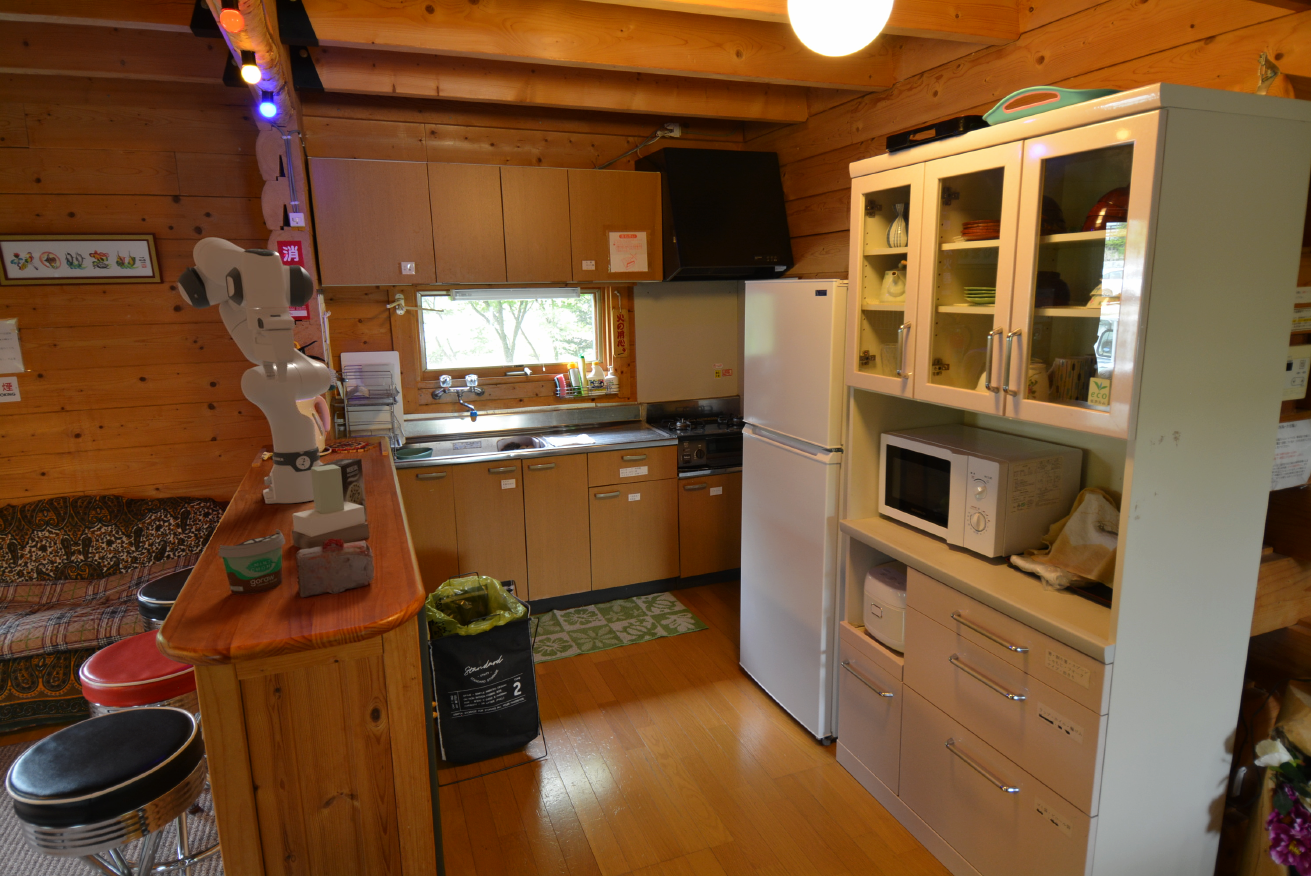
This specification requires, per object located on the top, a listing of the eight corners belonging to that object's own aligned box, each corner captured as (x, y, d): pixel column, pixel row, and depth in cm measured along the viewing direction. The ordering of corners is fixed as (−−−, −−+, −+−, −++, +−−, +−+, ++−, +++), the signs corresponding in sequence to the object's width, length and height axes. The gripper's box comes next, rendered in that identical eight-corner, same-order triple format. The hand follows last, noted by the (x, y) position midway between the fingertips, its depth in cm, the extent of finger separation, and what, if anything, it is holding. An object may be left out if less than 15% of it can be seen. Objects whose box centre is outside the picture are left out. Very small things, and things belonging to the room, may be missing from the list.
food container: (241, 601, 139) (234, 550, 138) (223, 595, 143) (216, 545, 141) (302, 580, 150) (297, 532, 148) (284, 575, 153) (278, 528, 151)
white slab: (294, 530, 172) (292, 513, 171) (347, 517, 181) (346, 501, 181) (311, 536, 167) (309, 519, 166) (365, 522, 176) (363, 506, 176)
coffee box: (347, 530, 183) (340, 465, 180) (323, 529, 184) (316, 465, 181) (368, 519, 191) (362, 458, 189) (346, 518, 193) (339, 457, 190)
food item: (371, 575, 152) (366, 528, 150) (377, 587, 145) (372, 539, 143) (297, 588, 146) (291, 540, 144) (300, 602, 139) (293, 551, 137)
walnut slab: (293, 546, 173) (291, 530, 172) (352, 532, 183) (351, 516, 182) (309, 555, 167) (307, 537, 166) (369, 539, 177) (368, 523, 176)
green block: (314, 509, 173) (310, 467, 172) (336, 505, 177) (333, 464, 175) (321, 513, 170) (317, 471, 168) (344, 509, 173) (340, 467, 171)
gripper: (242, 321, 178) (250, 379, 180) (266, 321, 162) (273, 385, 165) (271, 320, 182) (278, 377, 184) (296, 320, 166) (303, 382, 169)
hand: (276, 380), depth 174 cm, fingers open, 8 cm apart
